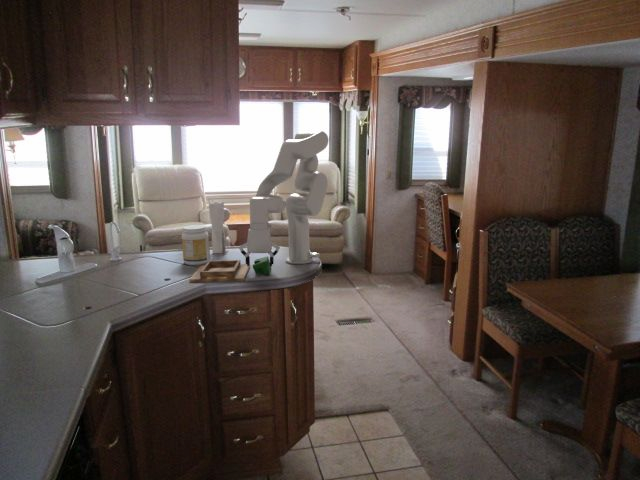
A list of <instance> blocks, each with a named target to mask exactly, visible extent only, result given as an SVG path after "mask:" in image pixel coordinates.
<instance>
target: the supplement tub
mask: <svg viewBox="0 0 640 480" xmlns="http://www.w3.org/2000/svg"><path fill="white" fill-rule="evenodd" d="M182 232H183V233H181V243H182V246H181V247H182V257H183V259H182V260H183V263H184V264H185V265H188V266H201V265H206V264H207V262H208V261H211V254H210V253H211V252H210V237H209V236H210V235H209V233H208V231H207V226H206V225H203V224H191V225H186V226H184V227H182Z"/></svg>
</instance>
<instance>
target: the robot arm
mask: <svg viewBox="0 0 640 480" xmlns="http://www.w3.org/2000/svg"><path fill="white" fill-rule="evenodd" d="M328 144H329V136H328V134H327V133H326V132H325V131H321V130H303V131H298V132H297V133H296V134H295V135H294V139H287V140H285V141H283V143H282V145H281V147H280V149H279V153H278V155H277V158H276V160H275V161H276V162H275V163H274V167H273V169H272V171H271V172H270V173H268V175H267V176H266V177H265V178H264V179H263V180H262V182H261V183H260V184H259V186H258V188H257V191H256V194H255V196H253V197H251V198H249V229H248V231H247V240H246V242H245V243H243V244H241V245H239V246H238V249H239V251H240V254H242V255H243V256H244V257H245V264H247V267H249V265H250V266H251V261H250V257H251V256H250V254H268V255H269V256H270V257H269V262H270V267H271V268H272V266H273V265H274V261H275V259H274V257H275V256H277V254H278V253H279V250H280V249H281V246H280V245H277V244H276V243H274V242H272V233H271V229H270V228H271V227H273V225H272V223H269V214H279V213H282V212H283V211H284V210H286V215H287V225H288V228H287V229H288V230H287V231H288V257H286V258H285V261H286V263H287V264H290V265H306V264H311V263H312V262H313V261H314V258H320V253H319V252H318V253H317V252H311V249H310V222H309V219H308V217H317V216H318V215H319V214H320V212H321V211H322V208H323V204H324V200H325V198H326V194H327V190H328V183H329V182H328V181H329V180H328V178H327V175H326V174H325V173H324V172H322V171H318V166H319V158H318V156H317V155H318V154H319V153H321V152H322V151H325V149H326V148H327V146H328ZM298 160H299V165H298V168H297V172H296V175H295V178H294V188H295V189H296V190H297V191H299V192H303V193H299V192H296V193H294V192H293V193H291V194H289V195H287V197H286V199H284V198H283V197H281V196H280V195H274V194H271V193H272V191H274V189H275V188H276V187H277V186H278V185H280V184H282V183H284V182H286V181H288V180H290V179H291V178H292V176H293V174H294V171H295V167H296V165H297V162H298ZM245 247H246V250H247V251H246V250H245V249H244V248H245ZM272 247H273V248H275V250H274V251H272V249H273V248H272Z"/></svg>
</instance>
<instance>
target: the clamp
mask: <svg viewBox="0 0 640 480" xmlns="http://www.w3.org/2000/svg"><path fill="white" fill-rule="evenodd" d="M252 269H253V271H254V274H255V275H261V274H263V275H264V277H265V276H270V275H271V272H272V267H270V257H269V256H268V255H267V256H264V257H261V258H256V259H255V260H254V262H253V264H252Z"/></svg>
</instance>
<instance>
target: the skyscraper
mask: <svg viewBox="0 0 640 480" xmlns="http://www.w3.org/2000/svg"><path fill="white" fill-rule="evenodd" d="M207 200H208V211H209V219H210V224H211V248H212V250H211V251H212V253H211V255H226V254H228V252H229V250H227V249H226V247H227V245H226V236H225V235H226V234H225V228H224V219H225V203H224V201H223V200H220V199H219V200H214V199H212V198H211V197H208V198H207ZM210 200H211V201H212V202H210Z"/></svg>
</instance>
